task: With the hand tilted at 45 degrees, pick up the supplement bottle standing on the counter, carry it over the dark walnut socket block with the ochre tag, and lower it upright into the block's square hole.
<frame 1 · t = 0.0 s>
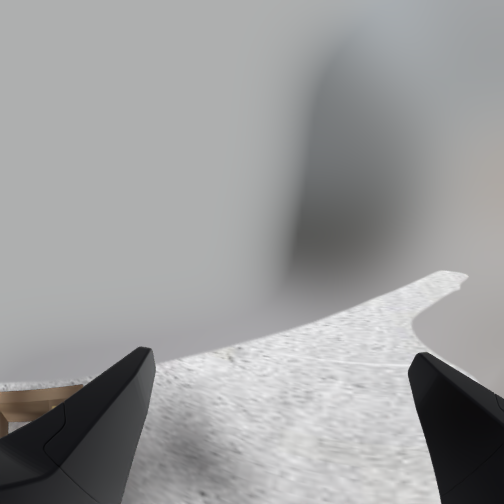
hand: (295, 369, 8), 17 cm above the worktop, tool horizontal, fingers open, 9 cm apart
socket block: (34, 447, 14), on the worktop
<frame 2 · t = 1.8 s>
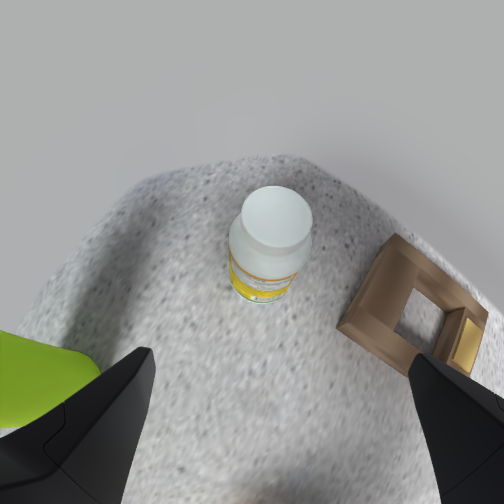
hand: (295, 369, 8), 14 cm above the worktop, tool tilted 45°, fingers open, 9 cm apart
socket block: (415, 324, 23), on the worktop
supplement bottle: (260, 275, 24), on the worktop
soap dispenser: (81, 387, 19), on the worktop
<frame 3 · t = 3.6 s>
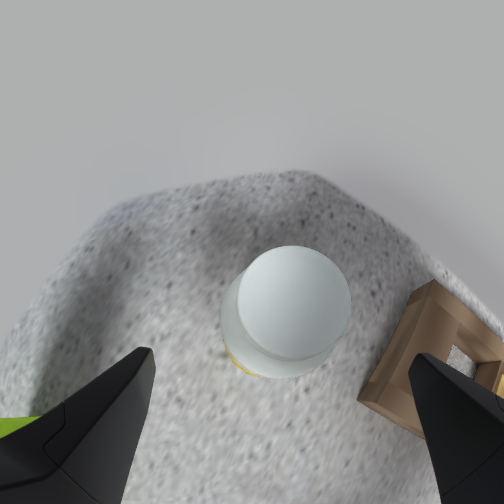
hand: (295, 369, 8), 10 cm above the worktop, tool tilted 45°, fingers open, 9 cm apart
socket block: (445, 383, 17), on the worktop
supplement bottle: (264, 337, 18), on the worktop
soap dispenser: (58, 454, 13), on the worktop
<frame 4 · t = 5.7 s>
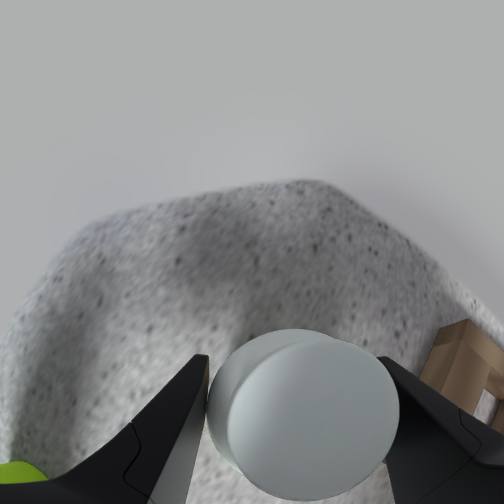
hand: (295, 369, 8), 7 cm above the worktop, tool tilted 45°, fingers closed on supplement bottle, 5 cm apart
socket block: (467, 426, 12), on the worktop
supplement bottle: (267, 394, 14), on the worktop, touching gripper
soap dispenser: (43, 499, 9), on the worktop
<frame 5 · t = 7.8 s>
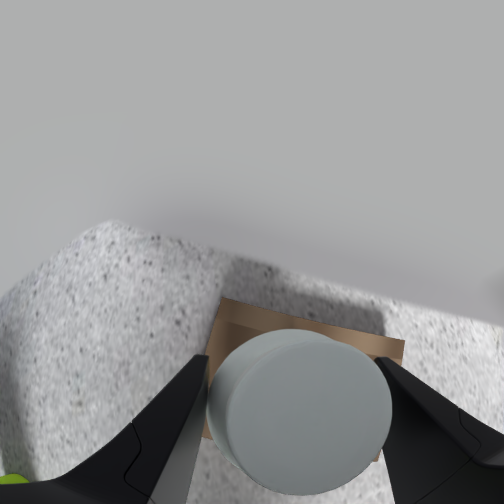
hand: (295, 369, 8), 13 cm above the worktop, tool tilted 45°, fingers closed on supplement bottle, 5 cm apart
socket block: (296, 388, 19), on the worktop
supplement bottle: (266, 392, 14), point 6 cm above the worktop, touching gripper
soap dispenser: (31, 498, 12), on the worktop
when the fingers open (8 cm above the worktop, at t = 10.1 s): supplement bottle stays where it is, resting in socket block.
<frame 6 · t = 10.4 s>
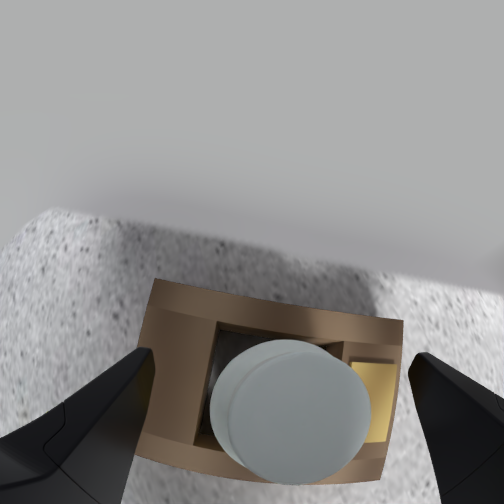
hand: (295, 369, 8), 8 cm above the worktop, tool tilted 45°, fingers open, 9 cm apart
socket block: (265, 392, 15), on the worktop
supplement bottle: (264, 394, 15), resting in socket block
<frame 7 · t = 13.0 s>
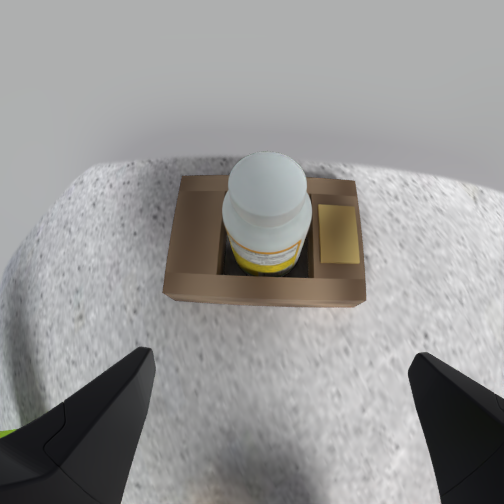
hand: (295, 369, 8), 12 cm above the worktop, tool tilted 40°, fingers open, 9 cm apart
socket block: (266, 246, 23), on the worktop
supplement bottle: (266, 249, 23), resting in socket block
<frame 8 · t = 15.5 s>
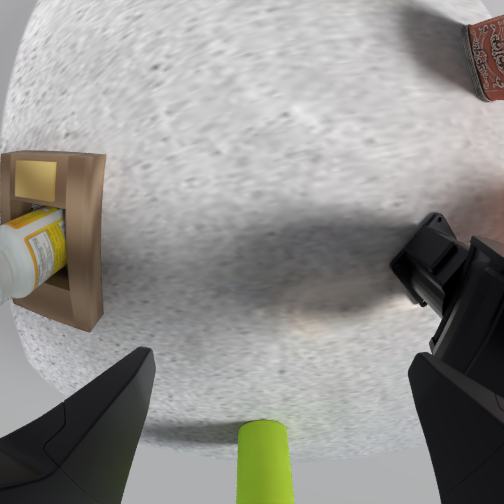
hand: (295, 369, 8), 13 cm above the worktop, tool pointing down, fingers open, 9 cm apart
socket block: (56, 232, 20), on the worktop
supplement bottle: (59, 232, 20), resting in socket block
lighter: (476, 63, 14), on the worktop
soap dispenser: (262, 428, 29), on the worktop
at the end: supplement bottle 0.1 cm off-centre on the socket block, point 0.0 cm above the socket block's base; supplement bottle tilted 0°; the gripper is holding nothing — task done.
